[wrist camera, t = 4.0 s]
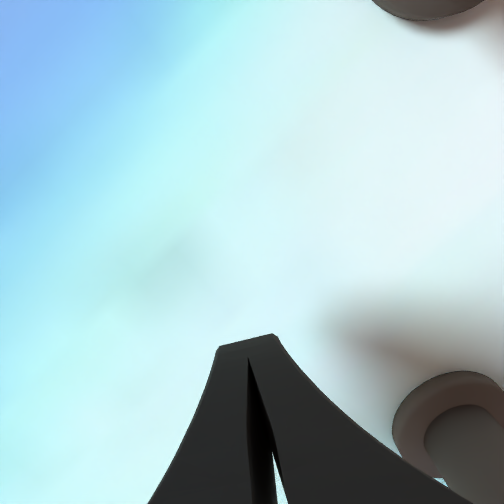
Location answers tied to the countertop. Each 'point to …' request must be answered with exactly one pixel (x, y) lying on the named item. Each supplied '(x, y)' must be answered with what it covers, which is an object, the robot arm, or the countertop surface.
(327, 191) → the countertop surface
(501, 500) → the post
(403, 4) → the post
